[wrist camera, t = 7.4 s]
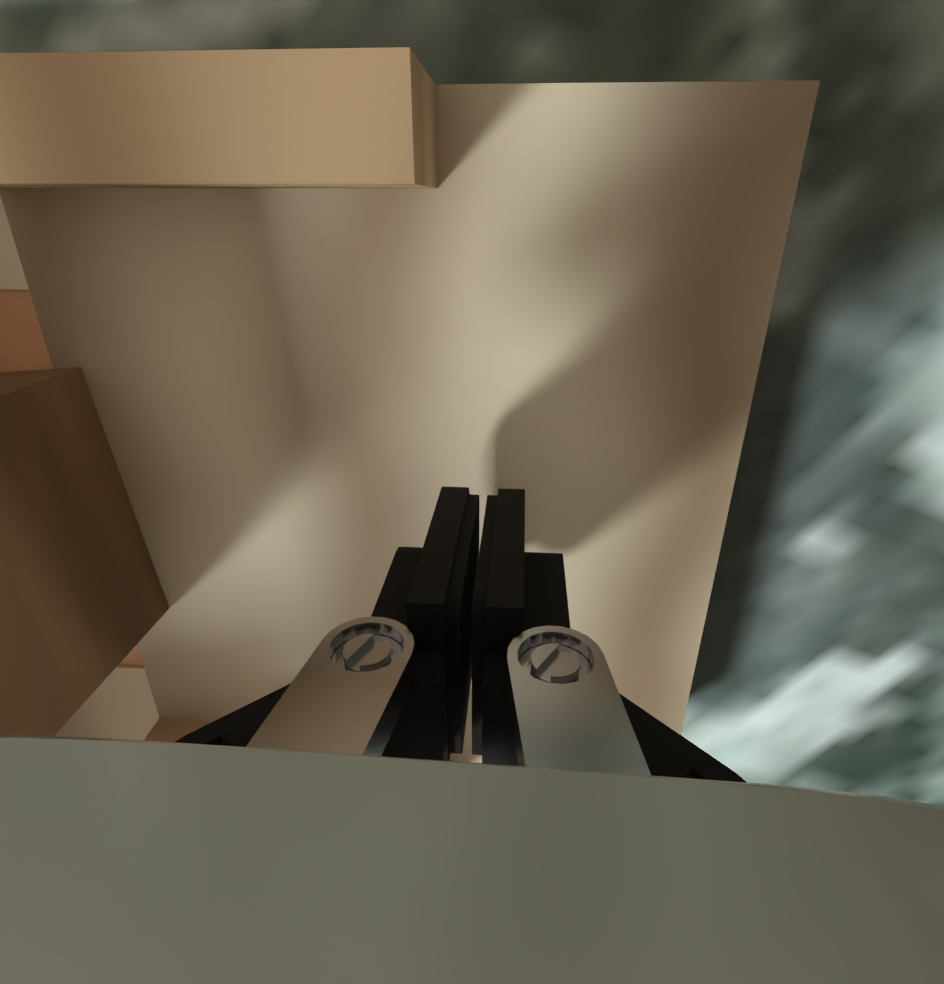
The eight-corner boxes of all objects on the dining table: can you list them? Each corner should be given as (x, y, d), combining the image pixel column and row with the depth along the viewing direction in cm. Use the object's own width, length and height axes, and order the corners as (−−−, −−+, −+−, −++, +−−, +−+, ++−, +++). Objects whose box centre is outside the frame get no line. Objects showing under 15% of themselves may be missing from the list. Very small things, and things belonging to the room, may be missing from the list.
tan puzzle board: (761, 105, 11) (917, 40, 7) (651, 717, 18) (693, 882, 14) (-410, 114, 13) (-897, 66, 9) (-106, 674, 20) (-288, 810, 16)
